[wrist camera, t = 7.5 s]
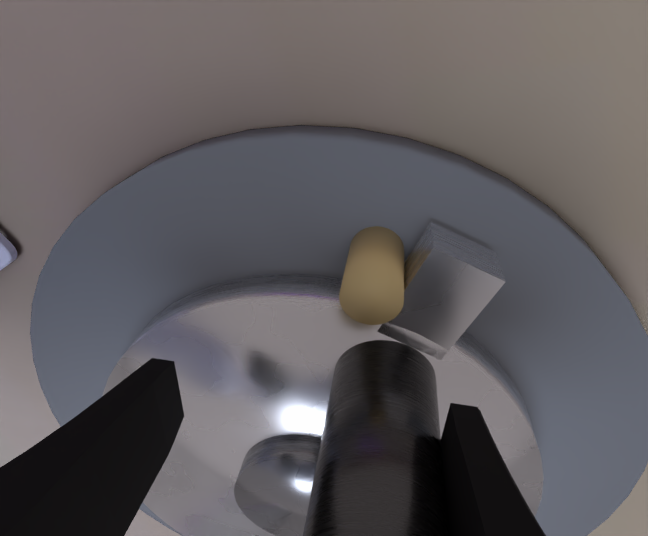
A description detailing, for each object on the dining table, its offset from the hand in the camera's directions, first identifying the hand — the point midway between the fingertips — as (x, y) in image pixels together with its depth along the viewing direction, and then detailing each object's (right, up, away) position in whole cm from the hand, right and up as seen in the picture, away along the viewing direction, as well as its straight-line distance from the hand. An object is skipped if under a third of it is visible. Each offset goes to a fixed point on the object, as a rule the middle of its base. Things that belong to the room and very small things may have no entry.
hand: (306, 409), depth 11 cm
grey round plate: (0, -3, +8) cm, 8 cm away
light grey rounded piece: (+1, -3, +6) cm, 6 cm away
